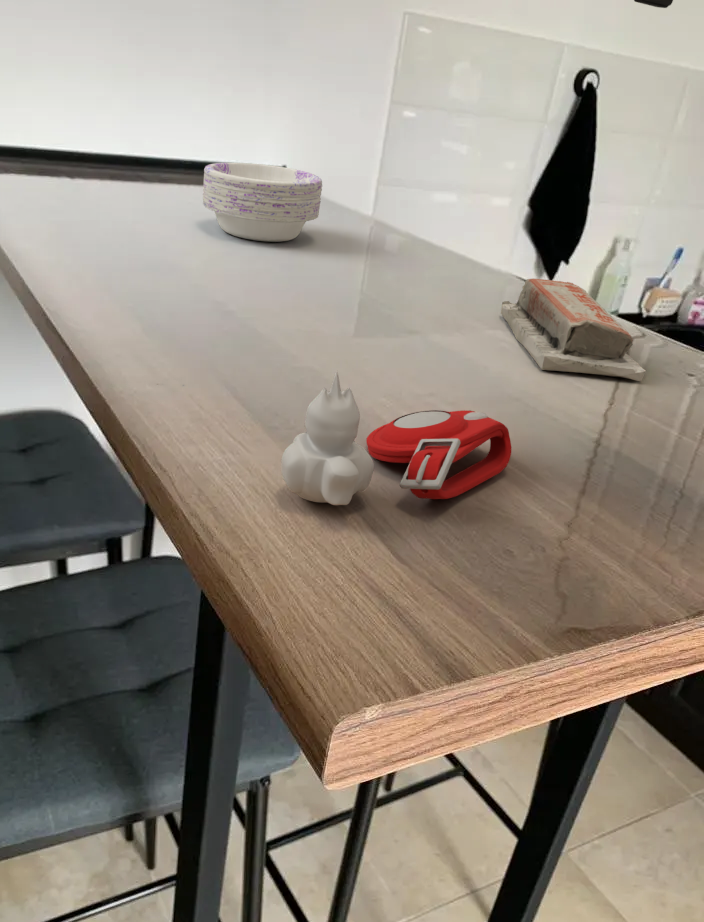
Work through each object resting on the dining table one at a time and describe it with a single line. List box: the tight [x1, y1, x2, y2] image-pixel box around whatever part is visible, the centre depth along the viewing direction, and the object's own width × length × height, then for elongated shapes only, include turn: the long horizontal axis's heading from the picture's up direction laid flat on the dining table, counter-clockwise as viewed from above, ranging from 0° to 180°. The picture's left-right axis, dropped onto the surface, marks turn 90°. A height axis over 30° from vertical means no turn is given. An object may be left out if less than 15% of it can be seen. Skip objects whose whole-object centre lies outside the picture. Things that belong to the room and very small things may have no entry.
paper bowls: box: [202, 162, 323, 243], centre depth 112 cm, size 15×15×8 cm
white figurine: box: [280, 371, 375, 506], centre depth 50 cm, size 5×7×8 cm
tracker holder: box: [365, 409, 512, 500], centre depth 57 cm, size 12×4×10 cm
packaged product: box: [500, 278, 647, 382], centre depth 86 cm, size 18×5×10 cm
